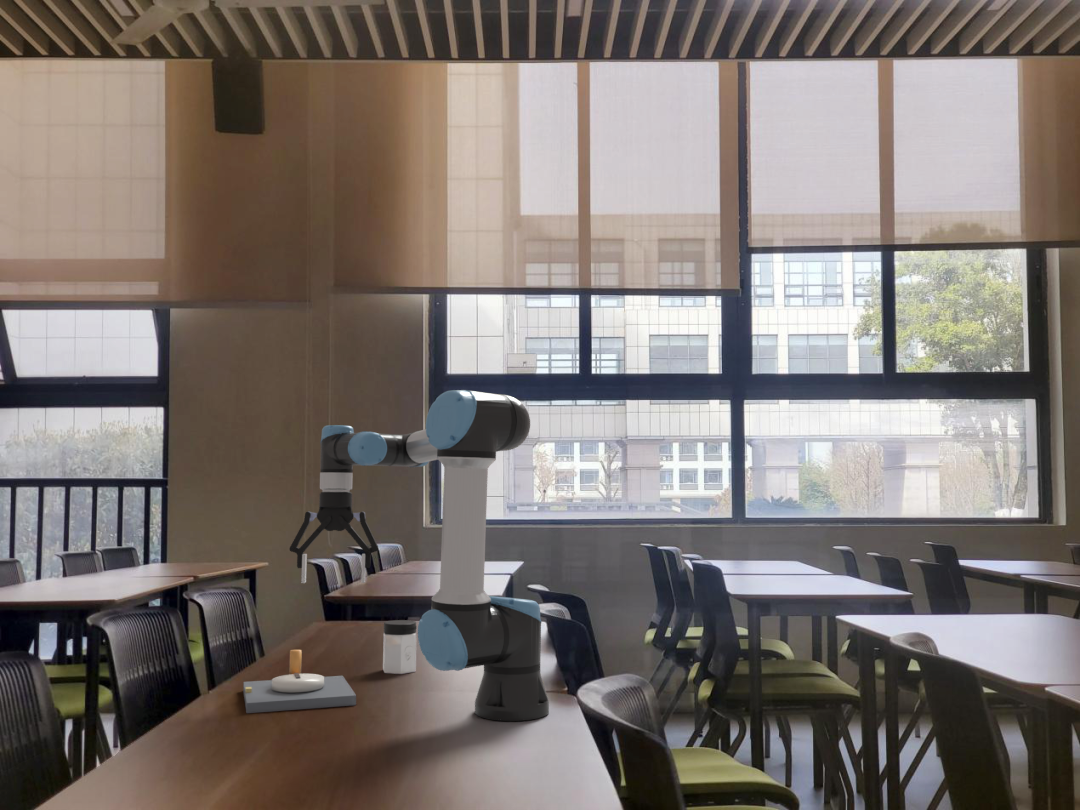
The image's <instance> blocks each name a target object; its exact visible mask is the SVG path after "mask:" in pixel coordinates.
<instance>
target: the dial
mask: <svg viewBox="0 0 1080 810" xmlns="http://www.w3.org/2000/svg"><path fill="white" fill-rule="evenodd" d="M302 651H303V650H302V649H290V650H289V666H288V667H289V670H288V671H289V674H283V675H279V676H276V677H273V678H272V679H271V680H272V690H274V691H278V692H307V691H314V690H318V689H321V688H323V687H324V677H325V676H324V675H321V674H318V673H302V660H303V659H302V658H303V657H302V653H303V652H302Z"/></svg>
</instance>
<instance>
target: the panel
mask: <svg viewBox="0 0 1080 810" xmlns="http://www.w3.org/2000/svg"><path fill="white" fill-rule="evenodd" d="M242 684H243V690H242V692H243V697H244V698H243V700H244V707H245V712H246V714H253V713H254V714H255V713H268V712H270V713H271V712H282V711H294V710H295V711H296V710H307V709H308V710H309V709H321V708H322V709H324V708H333V707H345V706H346V707H350V706H356V705H357V695H356V693H355V691H354V690H353V689H352V687H351V685H350V684H349V683H348V681H347V680H346V678H345V677H344V676H343V675H333V676H324V687H323V688H321V689H318V690H314V691H307V692H278V691H274V690H272V679H270V680H267V679H266V680H253V681H243V683H242Z"/></svg>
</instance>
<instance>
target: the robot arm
mask: <svg viewBox="0 0 1080 810" xmlns="http://www.w3.org/2000/svg"><path fill="white" fill-rule="evenodd" d="M530 430H531V417H530V413H529V412H528V409H527V408H526V406H525V405H524V404H523V403H522V402H521V401H520V400H519V399H517V398H515V397H513V396H511V395H509V394H504V393H503V394H501V393H498V394H497V393H490V392H484V391H483V392H482V391H475V390H468V389H461V390H459V389H457V390H455V389H453V390H446V391H444V392H443V393H441V394H439V395H438V396H437V397H436V399H435V401H433V402H432V404H431V406H430V407H429V410H428V413H427V415H426V420H425V429H422V430H417V431H414V432H410V433H407V434H394V433H393V434H391V433H377V432H374V431H365V430H364V431H360V432H355V431H354V427H352V426H351V425H345V424H344V425H343V424H340V425H338V424H334V425H333V424H332V425H331V424H330V425H329V424H328V425H324V426H323V428H322V429H321V439H320V465H319V466H320V472H319V489H320V490H322V492H321V491H320V493H319V500H318V501H319V503H318V505H319V506H318V507H319V508H318V512H312V511H309V510H308V511H306V512H305V513H304V519H303V522H302V524H301V526H300V528H299V530H298V531H297V534H296V535H295V537H294V539H293V541H292V543H291V544H290V546H289V551H290V552H293V553H294V554H296V555H297V557H296V567H297V569H301V582H300V583H301V584H305V583H307V561H308V559H307V558H308V554H307V553H305V552H306V550H307V549H308V548H309V547H310V546H311V544H313V542H314V541H315V540H316V539H317V538H318V537H319V536H320V534H321V533H323V531H324V530H325V531H328V532H333V531H336V532H342V531H346V532H347V533H348V534H349V535H350V536H351V538H352V539H353V540H354V541H355V542H356V543H357V544H358V546H359V547H360V548H361V549H362V551H363V552H364V553H362V554H361V581H360V582H361V584H362V583H363V584H364V583H366V569H367V568H368V569H370V567H371V560H372V559H371V556H372V553H375V552H378V551H379V546H378V545H379V544H378V543H377V540H376V539H375V537H374V535H373V533H372V531H371V528H370V527H369V524H368V523H367V518H366V512H365V511H361V512H354V511H353V493H352V492H351V491H350V490H353V479H354V478H353V475H354V474H353V472H354V471H353V469H354V466H364V467H365V466H367V467H368V466H371V467H372V466H374V467H375V466H377V467H379V466H380V467H409V468H417V467H418V468H419V467H425V466H427V465H428V464H429V463H430V462H432V461H437V460H438V461H439V462H440V464H441V465H443V466H442V467H444V469H443V474H444V475H443V494H442V495H443V497H442V521H441V522H442V523H441V546H440V547H441V550H440V552H441V553H440V572H439V573H440V575H439V590H438V591H437V592H435V594H434V595H433V596H432V597H431V603H430V605H431V606H430V607H431V608H430V609H428V610H427V611H426V612H423V614H422V616H421V618H420V619H419V621H418V624H417V639H418V644H419V645H418V646H419V648H420V651H421V653H422V654H423V656H424V658H425V661H427V663H428V664H429V665H430V666H431V667H433V668H434V669H436V670H438V671H441V672H442V671H443V672H447V671H457V672H459V671H462V670H464V669H465V670H466V669H469V668H474V667H481V666H483V673H482V674H483V675H482V679H481V681H480V685H479V688H478V690H477V693H476V697H475V701H474V714H475V715H476V716H477V717H479V718H483V719H487V720H493V721H499V722H500V721H502V722H503V721H504V722H520V721H522V722H523V721H530V720H531V721H532V720H537V719H540V718H543V717H546V716H547V715H548V714H549V713H550V702H549V698H548V694H547V691H546V687H545V685H544V682H543V678H542V674H541V651H542V649H541V647H542V645H541V644H542V643H541V642H542V641H541V640H542V637H541V636H542V619H541V607H540V605H539V604H538V602H537V601H536V600H532V599H525V598H515V597H506V596H493V595H492V596H491V595H488V593H486V591H485V588H484V587H485V563H486V561H485V558H486V528H487V507H488V506H487V503H488V502H487V501H488V498H487V497H488V478H489V477H488V471H489V468H490V466H491V465H492V464H493V463H494V462H496V460H497V452H505V451H511V450H514V449H515V448H518V447H520V446H521V445H522V444H523V443H524V442H525V441H526V439H527V438H528V436H529V433H530ZM315 518H316V519H317V520H318V521H319V523H320V525H319V526H318V527H317V528H316V529H315V530H314V531H313V532H312V533H311V534H310V535H309V537H308V538H307V539H306V540H305V542H304V543H303V544H302V545H301V546H300V547H298V546H299V545H300V542H301V541H302V539H303V537H304V536H305V533H306V531H307V529H308V527H309V526H310V523H311V522H313V521H315ZM354 518H355V519H356V521H357V522H360V525H361V527H362V530H363V532H364V534H365V535H366V538H367V540H368V542H369V545H370V546H371V547H369V546H368V545H367V544H366V542H365V541H364V540H363V539H362V537H360V535H359V534H358V533H357V531H356V530H355V529H354V527H352V525H351V524H350V523H351V522H352V521H353V519H354Z"/></svg>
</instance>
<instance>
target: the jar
mask: <svg viewBox="0 0 1080 810" xmlns="http://www.w3.org/2000/svg"><path fill="white" fill-rule="evenodd" d="M382 641H383V644H382V645H383V648H382V651H383V652H382V670H383V673H384V674H392V675H394V674H395V675H403V674H408V673H415V672H416V671H417V622H416V621H415V620H408V619H407V620H405V619H399V620H398V619H395V620H388V621H384V622H383V640H382Z"/></svg>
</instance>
